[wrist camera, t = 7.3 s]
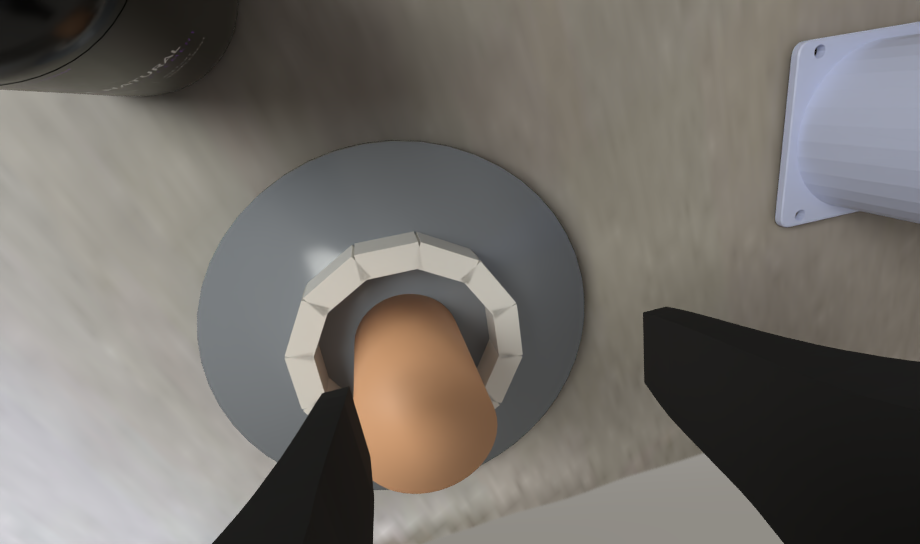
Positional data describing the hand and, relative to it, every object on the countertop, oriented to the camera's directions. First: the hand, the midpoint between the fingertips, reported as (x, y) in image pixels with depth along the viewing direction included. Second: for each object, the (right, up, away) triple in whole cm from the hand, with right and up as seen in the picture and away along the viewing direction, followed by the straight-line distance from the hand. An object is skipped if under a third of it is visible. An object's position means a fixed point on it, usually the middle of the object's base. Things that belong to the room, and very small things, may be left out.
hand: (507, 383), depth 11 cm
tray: (-3, 0, +9) cm, 10 cm away
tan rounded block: (-3, 0, +9) cm, 9 cm away
